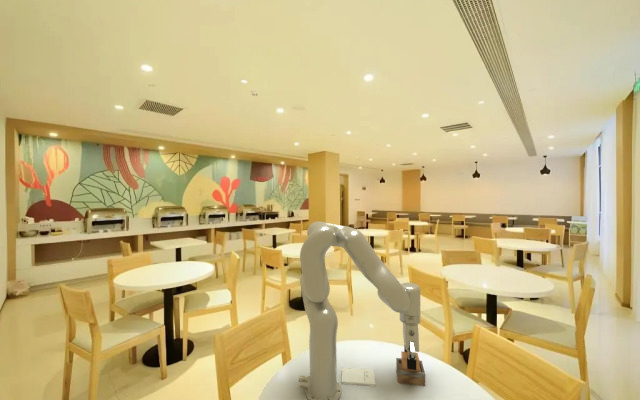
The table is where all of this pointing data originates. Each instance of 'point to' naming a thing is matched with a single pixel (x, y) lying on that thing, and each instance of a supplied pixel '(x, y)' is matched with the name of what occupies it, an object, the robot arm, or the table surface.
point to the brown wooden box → (410, 374)
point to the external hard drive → (358, 377)
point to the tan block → (404, 361)
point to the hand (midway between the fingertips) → (410, 360)
